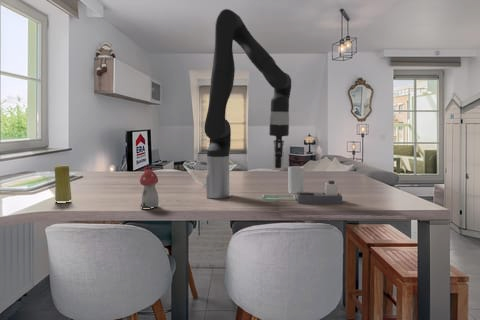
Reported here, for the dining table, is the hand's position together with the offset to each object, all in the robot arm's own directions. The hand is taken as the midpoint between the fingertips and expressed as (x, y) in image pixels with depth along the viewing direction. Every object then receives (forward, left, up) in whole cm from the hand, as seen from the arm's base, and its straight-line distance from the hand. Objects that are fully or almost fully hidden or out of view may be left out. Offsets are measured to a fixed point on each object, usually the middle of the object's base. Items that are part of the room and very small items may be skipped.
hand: (278, 167), depth 156 cm
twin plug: (+20, -7, -12) cm, 24 cm away
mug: (+8, +15, -14) cm, 22 cm away
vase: (-85, -7, -14) cm, 86 cm away
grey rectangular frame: (+15, -7, -14) cm, 22 cm away
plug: (0, 0, -1) cm, 1 cm away
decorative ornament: (-48, -15, -14) cm, 52 cm away
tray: (0, 0, -14) cm, 14 cm away
